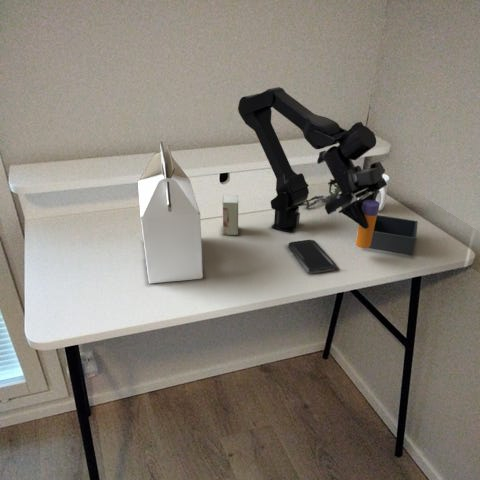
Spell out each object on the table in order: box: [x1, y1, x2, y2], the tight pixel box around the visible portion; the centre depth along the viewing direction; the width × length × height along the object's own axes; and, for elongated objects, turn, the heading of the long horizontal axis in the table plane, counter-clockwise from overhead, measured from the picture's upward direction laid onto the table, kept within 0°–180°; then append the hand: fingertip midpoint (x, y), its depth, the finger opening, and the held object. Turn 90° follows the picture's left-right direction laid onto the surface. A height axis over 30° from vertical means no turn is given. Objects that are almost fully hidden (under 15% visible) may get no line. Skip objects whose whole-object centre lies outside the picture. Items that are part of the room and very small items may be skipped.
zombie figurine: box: [303, 178, 341, 210], centre depth 151 cm, size 5×7×15 cm
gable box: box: [137, 141, 204, 284], centre depth 114 cm, size 22×13×28 cm, turn 11°
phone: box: [287, 239, 337, 274], centre depth 124 cm, size 8×1×15 cm
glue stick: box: [355, 200, 380, 249], centre depth 117 cm, size 4×4×12 cm
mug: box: [357, 173, 390, 212], centre depth 145 cm, size 12×8×10 cm
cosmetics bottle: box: [222, 194, 239, 236], centre depth 132 cm, size 5×4×10 cm
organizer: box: [368, 214, 419, 257], centre depth 129 cm, size 12×11×6 cm
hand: (371, 225), depth 116 cm, fingers closed on glue stick, 4 cm apart
